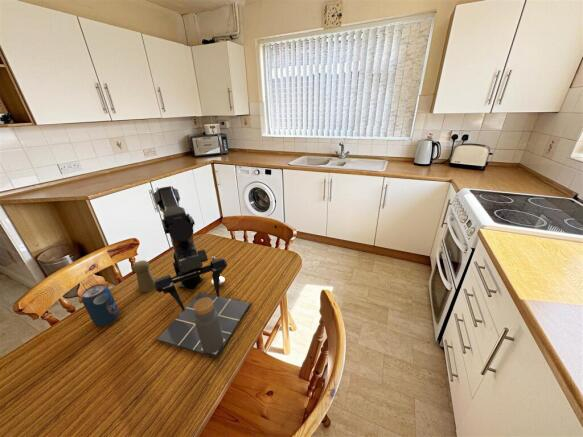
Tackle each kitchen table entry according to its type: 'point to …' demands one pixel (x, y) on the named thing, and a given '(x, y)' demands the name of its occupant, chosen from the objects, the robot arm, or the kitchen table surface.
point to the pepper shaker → (144, 276)
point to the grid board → (186, 331)
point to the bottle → (208, 325)
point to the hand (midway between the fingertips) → (201, 303)
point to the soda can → (100, 305)
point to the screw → (221, 279)
